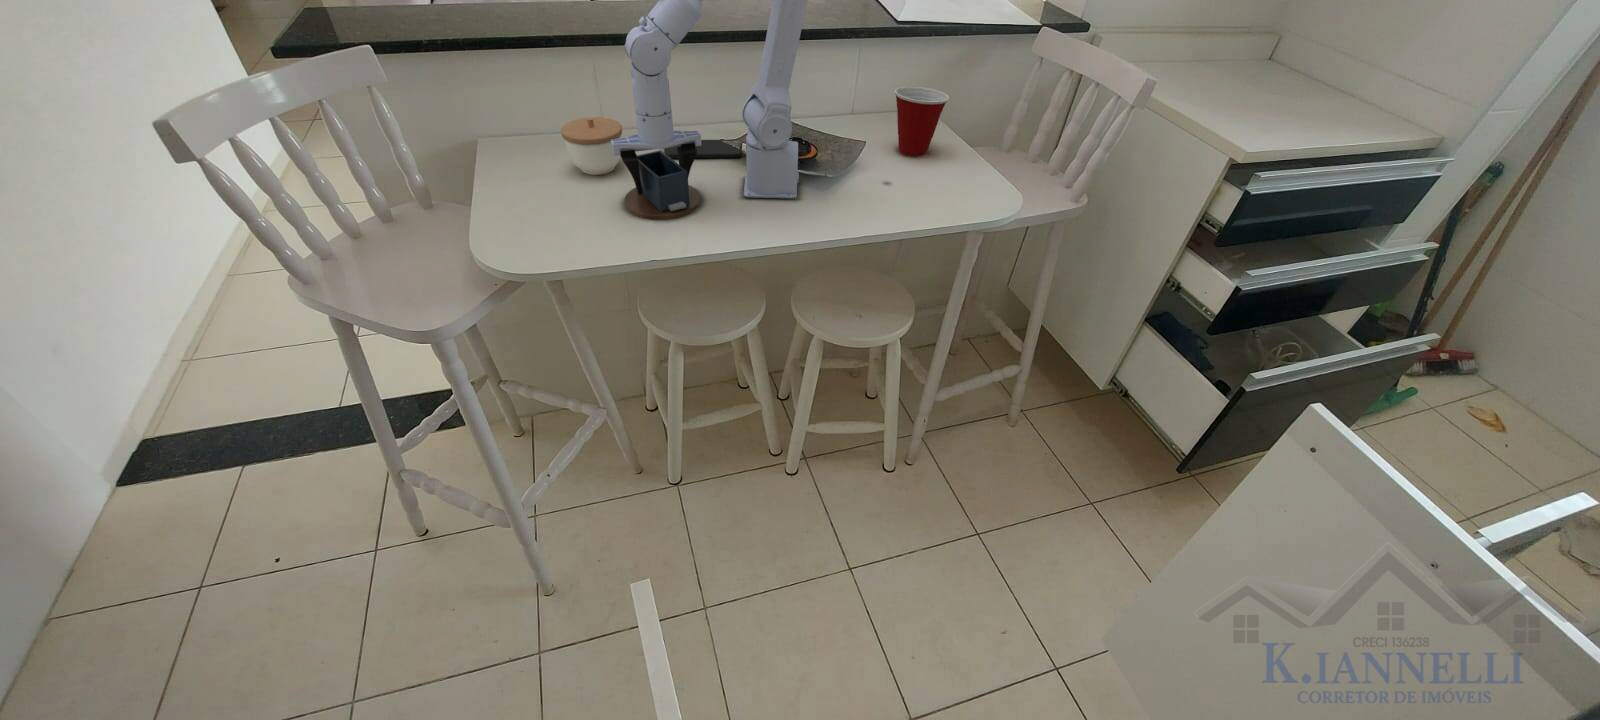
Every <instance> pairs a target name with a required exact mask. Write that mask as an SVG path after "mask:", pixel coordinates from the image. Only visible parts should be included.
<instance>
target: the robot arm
mask: <svg viewBox="0 0 1600 720" xmlns="http://www.w3.org/2000/svg"><path fill="white" fill-rule="evenodd" d="M703 1H704V0H658V1H657V2H656V4H655V5H654V6H653V8H652V9H651V10H650V12H649V13H648V14H647V15H646V16H645V17H644V16H641V18H639V20H638V23H639V25H638V26H635V27H633V28H632V29H630V30H629V32H628V33H627V35H626V38H625V44H624V45H623V47H624V50H625V53H626V55H627V57H628V58H629V59H630V60H631V62H630V75H631V77H632V78H631V88H632V89H631V90H632V96H633V103H634V104H633V105H634V111H635V120H636V128H637V133H636V134H632V135H628V136H624V137H623V138H619V139H613V140H611V146H612V151H613V154H614V156H616V155H620V156H621V160H622V162H623V164H624V166H625V167H626V169H627V170H628V172H629V174H630V175H631V177H632V180H633V182H634V186H635V188H636V190H637V192H638V194H639V195H641V194H643V191H642V185H641V180H640V172H639V161H638V159H637V155H638V154H637V152H644V151H653V150H663V149H665V148H671V147H677V152H678V158H677V159H678V164H679V165H680V166H681V167H682V168H684V169H685V170H686V171H687V174H688V178H689V177H690V172H691V169H692V166H693V164H694V162H695V159H696V155H697V150H696V148H695V146H701V140H702V134H701V132H700V131H699V130H674V122H673V112H672V111H673V110H672V99H671V89H670V80H669V78H668V68H669V66H670V63H671V59H672V51H673V50H674V49H676V48H677V46H678V45H679V44H680V43H681V42H682V40H684V38H685V37H686V36H687V34H688V33H689V32H690V31H691V30H692V28H693V27H694V26H695V25H696V24H697V22H698V21H699V20H700V19H701V17H702V16H703ZM807 5H808V0H772V3H771V9H770V14H769V20H768V24H767V25H768V26H767V31H766V36H765V41H764V47H763V52H762V57H761V62H760V67H759V73H758V79H757V80H756V81H755V82H754V84H752V86H751V89H750V93H749V96H748V98H747V99H746V101H745V102H744V104H743V106H742V111H741V117H742V121H743V122H744V124H745V126H746V127H748V131H747V133H746V135H745V136H746V137H745V159H746V160H745V161H746V162H745V164H746V167H745V169H746V176H745V177H744V189H743V197H744V198H758V199H759V198H760V199H796V198H798V184H799V183H800V173H799V171H798V170H799V169H798V168H799V142H798V141H793V140H790V138H791V136H792V133H793V123H792V120H791V114H792V113H791V112H792V109H793V108H792V107H793V106H792V100H791V99H792V98H791V95H790V85H791V79H792V75H793V71H794V66H795V62H796V58H797V57H796V56H797V52H798V48H799V43H800V39H801V33H802V29H803V26H804V25H803V24H804V20H805V15H806V11H807Z"/></svg>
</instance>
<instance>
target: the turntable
mask: <svg viewBox="0 0 1600 720" xmlns="http://www.w3.org/2000/svg"><path fill="white" fill-rule="evenodd" d="M688 187H689V200H690V204H689V205H686V207H685V208H682V209H678V210H674V211H671V210H666V211H663V212H661V211H660V210H659V209H658V208H657V207H656V206H654V205H653V204H652V203H651V202H650V201H649V200H648V199H647V198H646V197H645V196H644V195H642V194H641V195H639V194H638V192H637V190H636V187H633V188H632V189H630V191H628V192H627V193H626V195H625V197H624V204H625V208H626V210H627V211H628V212H630V213H631V214H633V215H635V216H637V217H639V218H643V219H647V220H648V219H649V220H672V219H677V218H682V217H684V216H687V215H689V214H691V213H693V212H694V211H696V210H697V209H698V208H699V206H700V205H701V194H700V192H699V190H697V188H695V187H693V186H692V185H690V184H688Z"/></svg>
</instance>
